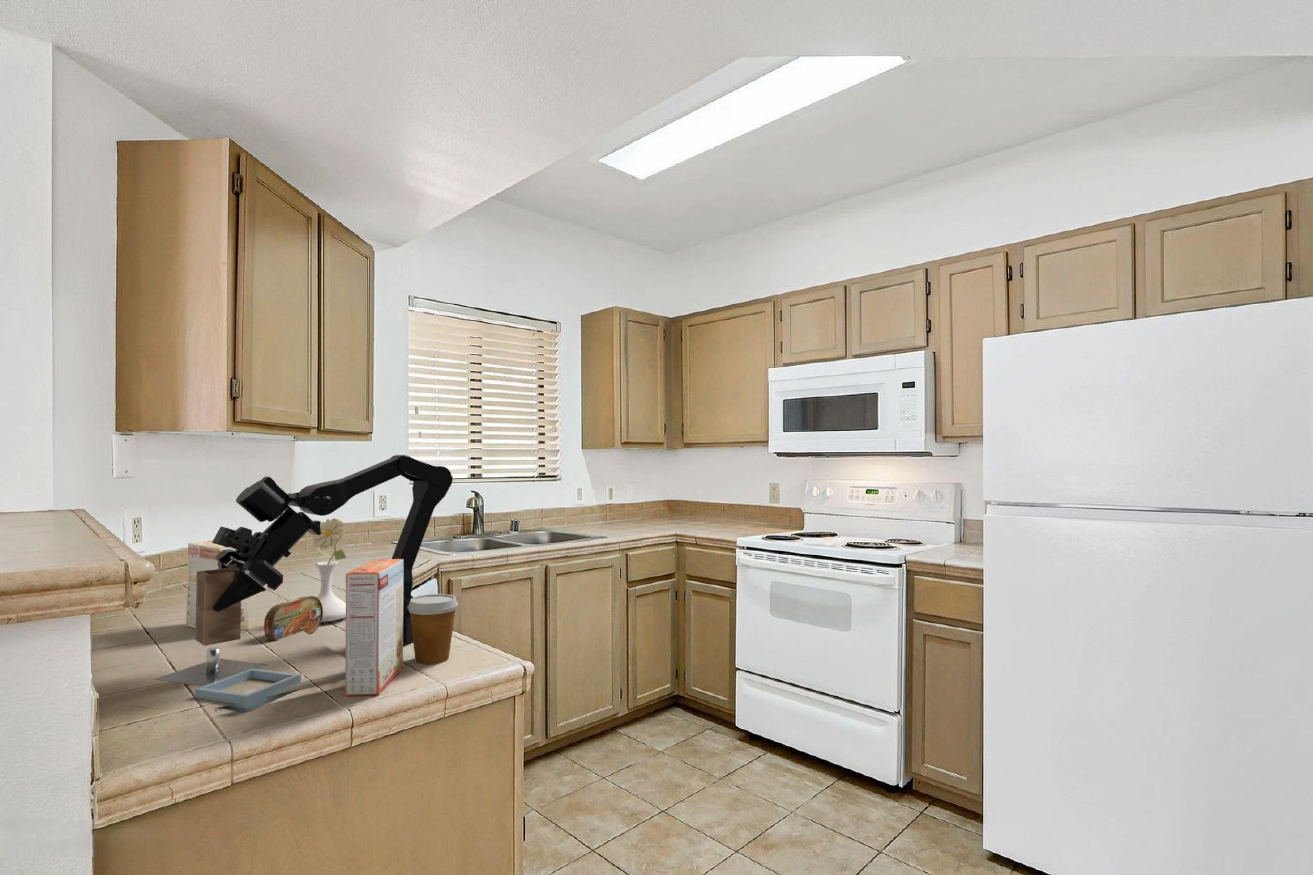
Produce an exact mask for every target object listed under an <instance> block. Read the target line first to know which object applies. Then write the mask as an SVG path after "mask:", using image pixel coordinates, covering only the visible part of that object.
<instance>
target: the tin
mask: <svg viewBox="0 0 1313 875" xmlns="http://www.w3.org/2000/svg"><path fill="white" fill-rule="evenodd" d="M322 616H323V608H322V604H321V602H320V600H319V599H318V598H317V596H314V595H309V596H300V597H296V598H294V599H292V600H288V601H284V602H281V603H278V604H275V605H274V606H272V607H271V608H269V610H268V611H267V612H266V615H265V617H264V623H263V625H264V626H263V629H264V630H263V631H264V635H265V638H266V639H267V640H268V641H279V640H281V639H284V638H287V637H290V636H293V635H295V634H298V633H301V632H305V633H306V634H307V635H311V634H313V633H315V632H316V631H317V630H318V629H319V627H320V625H321V623H322V622H321V620H322Z"/></svg>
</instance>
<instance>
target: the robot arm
mask: <svg viewBox="0 0 1313 875" xmlns="http://www.w3.org/2000/svg"><path fill="white" fill-rule="evenodd" d="M399 476H401V477H403V478H404V479H406V480H409V481H411V482H413V483H412V504H411V506H410V510H409V512H408V515H407V518H406V520H405V523H404V525H403V528H402V530H401V533H400V534H399V535H400V536H399V538H398V541H397V544H396V546H395V548H394V551H393V553H392V557H391V559H403V572H404V573H403V647H404V646H406V645H409V644H411V643H413V635H412V626H411V617H410V612H409V609H408V605H409V603H410V600H411V599H412V598H414V597H415V596H412V591H413V586H414V580H413V579H414V578H413V567H414V565H415V562H416V559H417V557H418V554H419V551H420V548H421V545H422V543H423V541H424V538H425V535H426V532H427V530H428V526H429V523H430V521H431V519H432V516H433V513H434V510H435V508H436V507H437V505H438V504H440V502H441V501H442V500H443V499H444V498H445V497H446V496H447V493H448V492H449V489H450V488H451V486H452V483H453V480H454V478H453V475H452V472H451V471H450V470H449V468H447V467H446V466H442V465H432V464H429V463H427V462H423V461H421V460H418V459H415V458H413V457H411V456H410V455H407V454H395V455H392V456H391V457H390V458H388V459H386V460H383V461H380V462H379V463H376V464H374V465H372V466H369V467H367V468H365V469H362V470H359V471H357V472H355V473H352V474H350V475H347V476H345V477H342V478H338V479H335V480H329V481H323V482H319V483H313V484H310V485H306V486H305V487H303V488H302V489H300V490H299V492H293V493H287V492H285V490H284V489H282V488H281V487H280V486H279V485H278V484H277V483H276V481H275V480H274V479H273V478H272V477H271V476H264V477H262V479H260V480H258V481H256V482H255V483H253V484H251V485H249V486H247V487H246V488H245V489H244V490H243V491H241V493H239V495H238V496H237V497H236V499H235V502H236V503H237V504H238V505H239V506H240V507H241V508H242V509H244V510H245V511H246V512H247V513H249V514H250V515H251V516H252V518H254V519H256V521H258V522H259V523H263V522H265V521H267V522H269V523H270V522H272V523H271V524H270V525H268V526H267V528H266V529H265V530H264V531H256V532H254V533H253V530H252V529H251V528H248V527H244V526H239V527H238V528H236V529H232V528H228V527H225V526H220V527H219V529H218V530H217V532H216V534H215V537H214V538H213V540H211V541H212V543H214V544H217V545H221V546H224V547H231V548H234V549H237V550H236V551H234V550H231V549H229V550H222V551H221V552H220V553H219V554H218V555H217V556H216V557H215V559H216V560H217V561H219V562H218V563H217V565H218V568H219V569H223V568H234V580H233V582H232V583H231V584H230V586H229V587H228V588H227V589H226V591H225V592H224V593H223V594H222V596H221V597H220V598H219V599H218V601H217V602H216V603H215V605H214V606H213V609H214V610H215V611H217V612H218V611H221V610H223V609H225V608H227V607H229V606H231V605H233V604H235V603H238V602H240V601H242V600H244V599H246V598H248V597H249V598H251V597H253V596H255V595H258V594H259V593H262V592H266V591H267V589H266V588H265V586H266V585H267V586H266V587H267V588H268V589H269V590H272V591H274V592H275V591H276V590H277V589H278V588H279V587H280V586H281V585H282V584H283V583H284V574H282V572H280V571H278V569H276V567H275V566H276V565H277V564H278V563H279V561H281V559H282V558H283V557H284V558H288V557H289V556H290V555H291V554H292V552H290V550H291V549H292V548H293V547H294V546H295V545H297V543H298V542H299V541H300V540H301V539H302V538H303V537H305V535H306V534H307V533H308V532H309V533H310V534H311V535H314V534H315V535H320V534H321V528H320V525H321V523H322V522H321V520H316V519H315V520H313V519H311V517H309V516H308V515H309V514H310V515H315V516H320V517H322V516H323V517H324V516H329V515H330V514H332V513H334V512H335V511H337V510H338V509H340V508H341V507H343V506H345V505H346V504H347V503H348V502H349V501H350V500H351V499H352V498H353V497H355V496H358V495H359V494H361V493H363V492H365V491H366V492H367V491H368V490H370V489H372V488H375V487H376V486H378V485H381V484H385V483H386V482H388V481H390V480H392V479H395V478H397V477H399ZM292 507H296V508H299V510H300V511H298V512H297V511H295V510H294V508H292ZM307 514H308V515H307Z"/></svg>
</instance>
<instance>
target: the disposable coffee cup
mask: <svg viewBox="0 0 1313 875" xmlns="http://www.w3.org/2000/svg"><path fill="white" fill-rule="evenodd" d="M413 597H414V598H412V599H411V600H410V603H409V605H408V609H409V612H410V617H411V626H412V635H413V642H412V644H413V652H414V662H415V663H416V664H417V663H418V664H420V665H435V664H440V663H444V662H446V661H448V660H449V657H450V650H451V644H452V637H453V630H454V622H455V616H456V614H455V613H456V610H457V609H458V605H459V602H458V601H457V598H456V595H453V594H448V593H447V594H445V593H433V594H432V593H431V594H423V595H418V596H413Z"/></svg>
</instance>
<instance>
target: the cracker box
mask: <svg viewBox="0 0 1313 875" xmlns="http://www.w3.org/2000/svg"><path fill="white" fill-rule="evenodd" d="M403 573H404V572H403V559H392V558H376V559H373V560H371V561H368V562H367V563H365V564H363V565H361V566H359V567H357V568H355V569H353V570H351V571H349V572H346V574H345V603H346V617H345V662H344V663H345V667H344V668H345V683H344V684H345V689H344V690H345V691H344V692H345V694H344V695H345V697H355V696H379V695H380V694H381V693H382V692H383V691H384V689H385V688H386V687H387V686H388V685H389V684H390V682H392V681H393V679H394V678H395V677H396V676H397V674H398V673H400V671H401V670H402V669H403V667H404V646H403Z"/></svg>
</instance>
